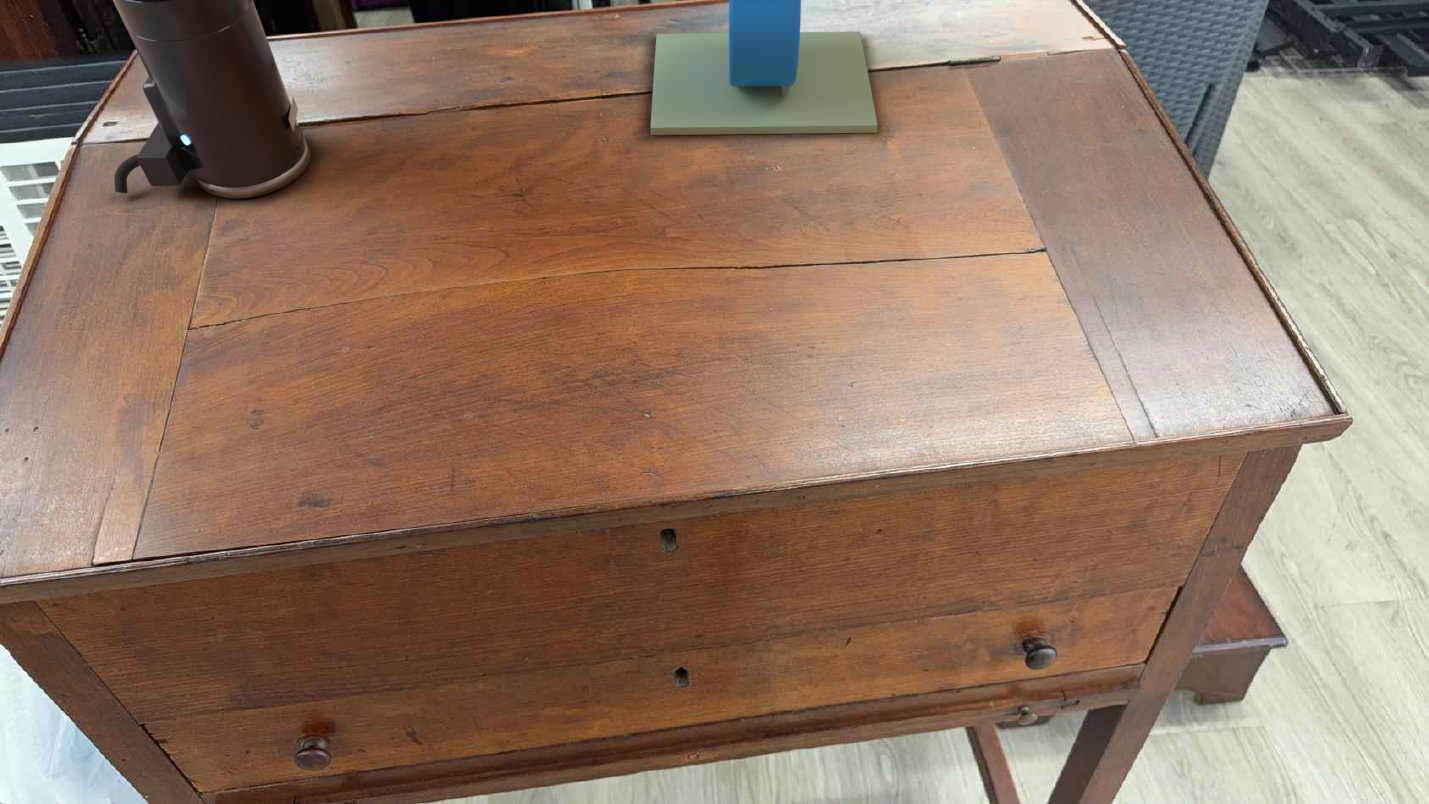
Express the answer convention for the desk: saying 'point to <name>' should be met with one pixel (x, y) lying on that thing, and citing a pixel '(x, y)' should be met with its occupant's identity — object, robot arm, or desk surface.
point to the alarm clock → (764, 42)
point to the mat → (760, 89)
